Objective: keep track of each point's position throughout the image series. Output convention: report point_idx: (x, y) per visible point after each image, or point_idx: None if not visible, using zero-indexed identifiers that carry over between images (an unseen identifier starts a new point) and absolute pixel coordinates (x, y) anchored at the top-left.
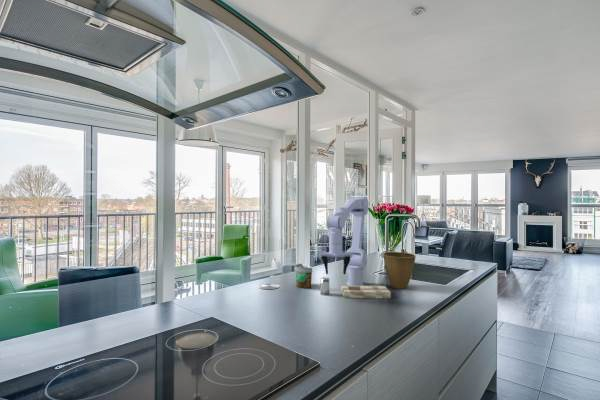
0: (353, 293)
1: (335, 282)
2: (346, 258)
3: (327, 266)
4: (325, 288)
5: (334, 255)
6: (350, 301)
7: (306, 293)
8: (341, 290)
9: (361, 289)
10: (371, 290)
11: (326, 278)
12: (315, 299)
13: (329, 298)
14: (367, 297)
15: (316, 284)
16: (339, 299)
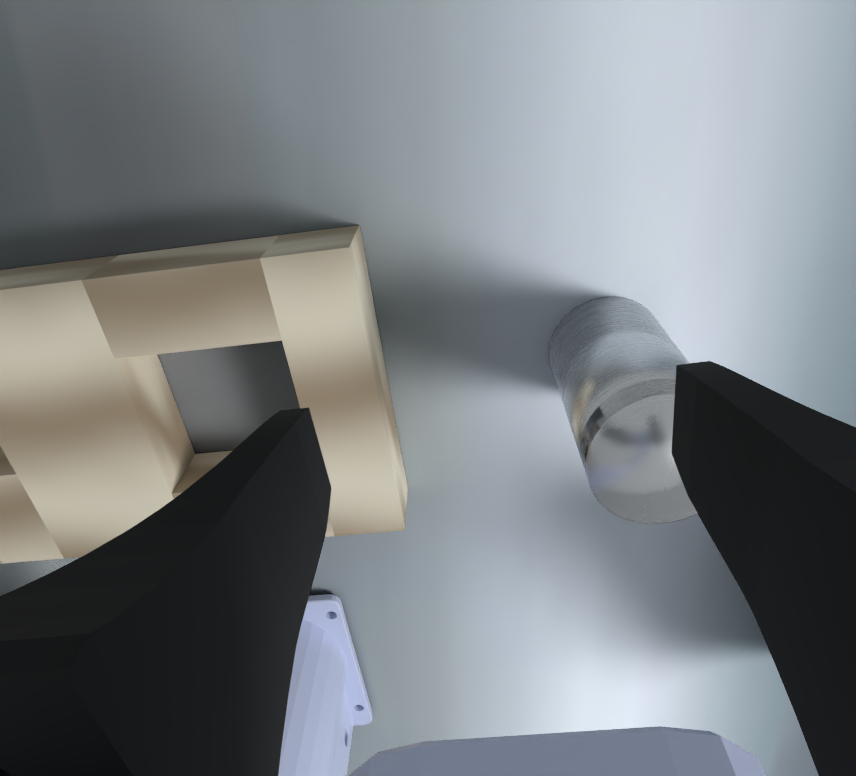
0: (224, 259)
1: (474, 710)
2: (19, 724)
3: (784, 443)
4: (624, 333)
5: (756, 760)
6: (261, 73)
7: (841, 338)
8: (406, 485)
9: (142, 416)
10: (2, 377)
11: (639, 466)
12: (762, 84)
13: (555, 168)
14: (67, 263)
15: (669, 643)
16: (418, 144)
